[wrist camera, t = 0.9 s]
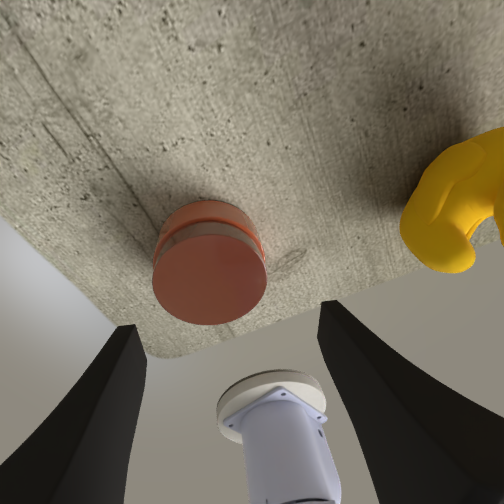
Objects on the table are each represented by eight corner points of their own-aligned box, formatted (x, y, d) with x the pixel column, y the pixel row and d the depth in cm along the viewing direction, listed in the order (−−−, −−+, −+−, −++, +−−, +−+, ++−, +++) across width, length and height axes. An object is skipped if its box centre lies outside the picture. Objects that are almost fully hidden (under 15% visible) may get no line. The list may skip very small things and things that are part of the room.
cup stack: (278, 247, 22) (293, 284, 19) (207, 300, 24) (209, 343, 20) (212, 177, 19) (214, 205, 15) (135, 245, 20) (120, 285, 17)
